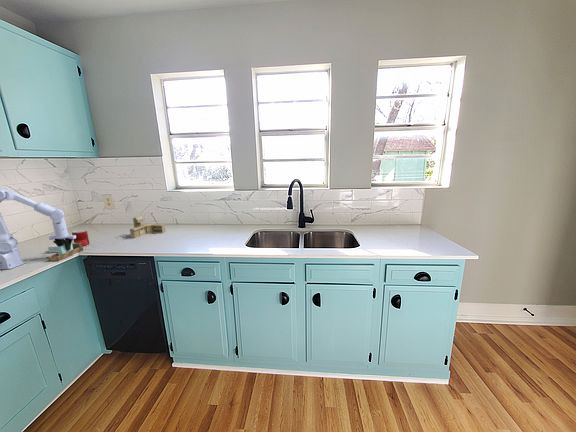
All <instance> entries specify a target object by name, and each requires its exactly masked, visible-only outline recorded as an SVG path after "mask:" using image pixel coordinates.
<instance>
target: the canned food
mask: <svg viewBox="0 0 576 432" xmlns="http://www.w3.org/2000/svg"><path fill="white" fill-rule="evenodd" d="M71 235H76V238H75V239H73V240H72V241H73V243H82V247H83V248H84V247H87V245H88V246H89V245H90V239H89V234H88V230H87V229H86V228H82V229H80V228H79V229H75V230H73V231H71Z"/></svg>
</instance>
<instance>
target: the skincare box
mask: <svg viewBox="0 0 576 432" xmlns="http://www.w3.org/2000/svg"><path fill="white" fill-rule="evenodd" d="M57 247H58V246H57V245H56V244H55V243H54V244H52V245H50V246H48V247H47V248H48V249H47V250H48V252H49V253H54V254H55V253H58V250H57Z"/></svg>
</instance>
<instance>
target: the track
mask: <svg viewBox="0 0 576 432" xmlns="http://www.w3.org/2000/svg"><path fill="white" fill-rule="evenodd" d="M72 246H73V250H71V251H69V252H66V253H64V254H62V255H59V254H58V252H56V253H54V254H52V255H49V256H48V257H47V260H48V262H50V263H51V262H60V261H63V260H65V259H67V258H69V257H71V256H74V255H76V254H78V253H81V252H83V251H84V247H82V243H74V242H72Z"/></svg>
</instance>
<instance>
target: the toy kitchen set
mask: <svg viewBox="0 0 576 432" xmlns="http://www.w3.org/2000/svg"><path fill="white" fill-rule="evenodd" d="M132 222H133V227H132V228H129V233H130V238H131V239H137V238H139V237H142V236H145V235H149V234H164V233H166V225H165V223H153V222H152V223H144V224H142V222H145V219H144V218H143V217H142V216H141V215H137V216H134V217H132Z"/></svg>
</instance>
